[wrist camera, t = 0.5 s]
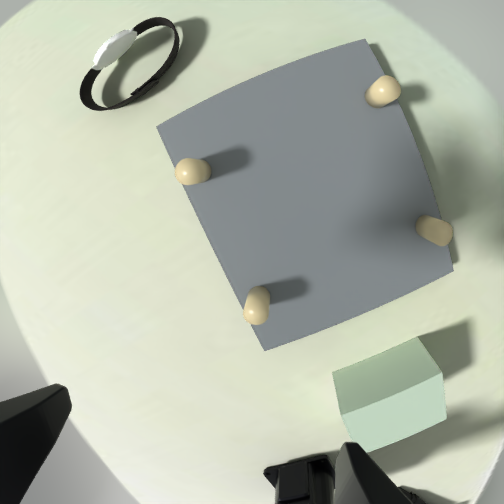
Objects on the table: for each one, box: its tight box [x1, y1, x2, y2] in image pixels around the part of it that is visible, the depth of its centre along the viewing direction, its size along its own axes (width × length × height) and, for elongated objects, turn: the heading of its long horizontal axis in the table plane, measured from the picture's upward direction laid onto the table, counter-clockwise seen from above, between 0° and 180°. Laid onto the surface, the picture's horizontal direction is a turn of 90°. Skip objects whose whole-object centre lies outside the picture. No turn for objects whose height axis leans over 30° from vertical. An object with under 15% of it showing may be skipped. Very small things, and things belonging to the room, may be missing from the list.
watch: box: [80, 17, 179, 111], centre depth 16 cm, size 8×5×4 cm, turn 129°
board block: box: [332, 337, 447, 453], centre depth 20 cm, size 5×7×5 cm
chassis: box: [156, 39, 454, 351], centre depth 17 cm, size 16×14×4 cm
